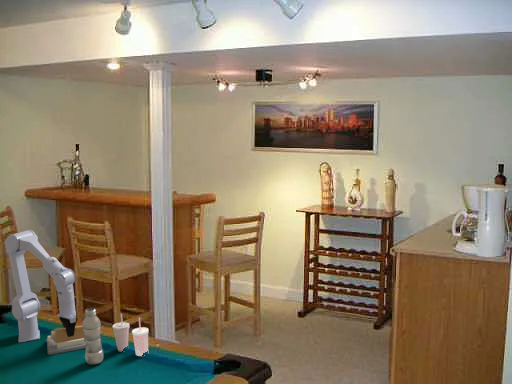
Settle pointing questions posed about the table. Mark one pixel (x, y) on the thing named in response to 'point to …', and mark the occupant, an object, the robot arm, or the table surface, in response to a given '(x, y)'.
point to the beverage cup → (140, 339)
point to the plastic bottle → (92, 337)
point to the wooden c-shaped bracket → (62, 336)
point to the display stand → (64, 345)
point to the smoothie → (121, 334)
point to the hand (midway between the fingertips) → (69, 335)
